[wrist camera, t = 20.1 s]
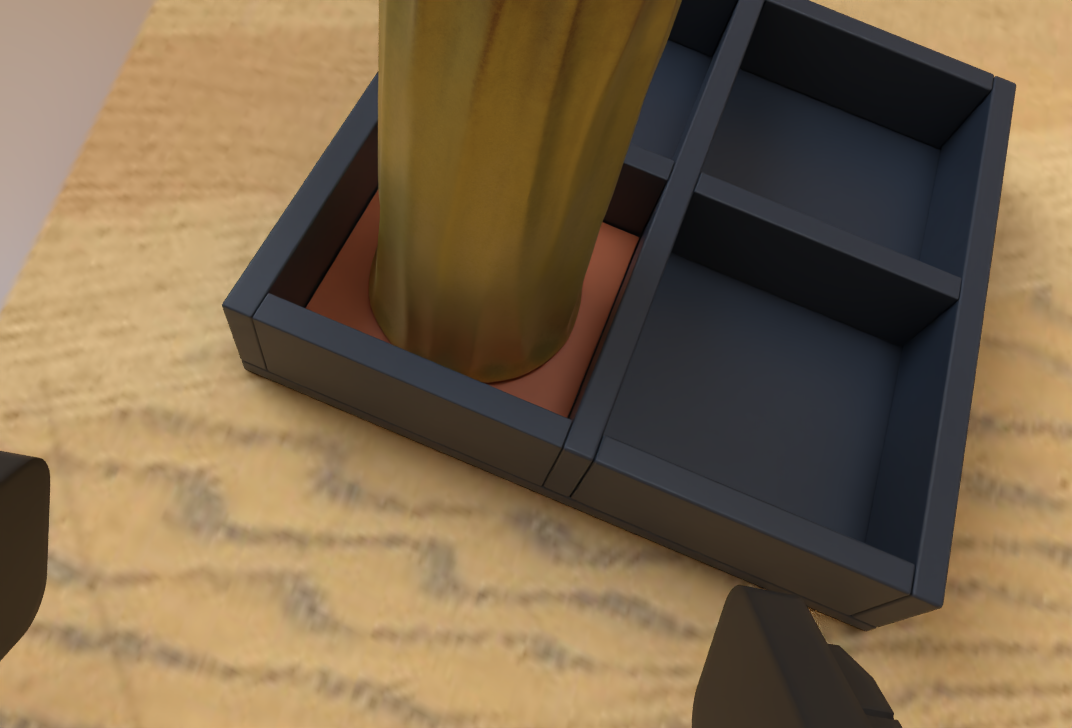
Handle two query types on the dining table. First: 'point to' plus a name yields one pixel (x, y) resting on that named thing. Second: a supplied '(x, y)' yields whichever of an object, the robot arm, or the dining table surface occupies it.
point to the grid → (715, 311)
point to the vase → (500, 167)
